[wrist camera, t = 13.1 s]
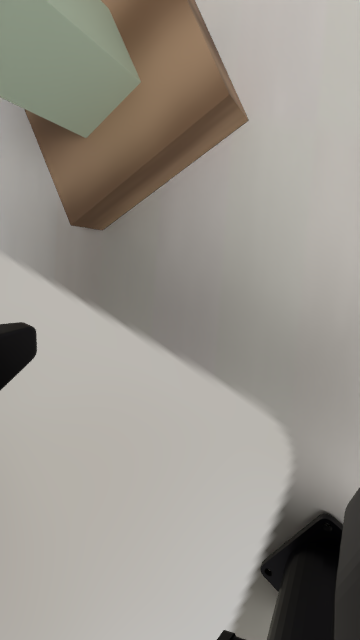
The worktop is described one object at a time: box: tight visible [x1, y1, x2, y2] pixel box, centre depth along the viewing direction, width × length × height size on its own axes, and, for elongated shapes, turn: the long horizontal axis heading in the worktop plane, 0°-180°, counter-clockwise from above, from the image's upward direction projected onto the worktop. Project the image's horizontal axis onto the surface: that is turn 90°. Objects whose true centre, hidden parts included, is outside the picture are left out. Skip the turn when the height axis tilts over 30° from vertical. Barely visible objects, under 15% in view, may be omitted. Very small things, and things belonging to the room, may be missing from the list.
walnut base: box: [25, 0, 248, 230], centre depth 20 cm, size 12×12×3 cm
